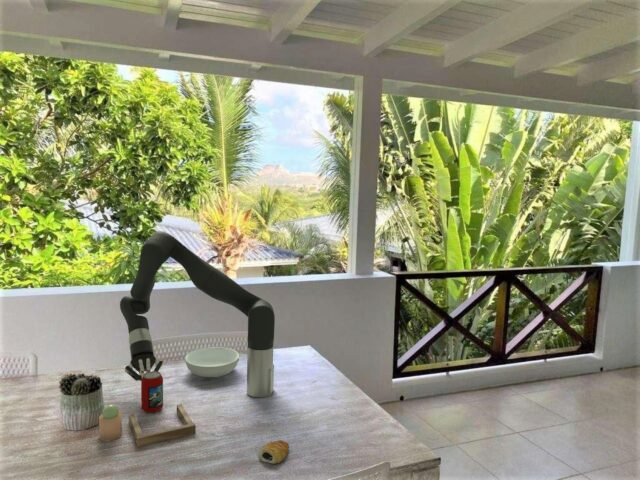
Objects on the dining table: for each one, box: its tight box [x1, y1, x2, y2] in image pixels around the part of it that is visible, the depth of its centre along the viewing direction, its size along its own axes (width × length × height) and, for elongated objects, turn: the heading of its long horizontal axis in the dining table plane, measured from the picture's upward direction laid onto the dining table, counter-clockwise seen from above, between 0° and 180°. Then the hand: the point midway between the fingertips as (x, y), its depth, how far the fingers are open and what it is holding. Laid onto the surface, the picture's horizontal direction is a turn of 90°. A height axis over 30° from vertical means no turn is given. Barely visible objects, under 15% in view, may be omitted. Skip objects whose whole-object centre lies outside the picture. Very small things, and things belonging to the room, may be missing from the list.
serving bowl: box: [184, 346, 240, 378], centre depth 185 cm, size 21×21×7 cm
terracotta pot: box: [98, 404, 123, 442], centre depth 136 cm, size 6×6×9 cm
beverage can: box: [140, 370, 164, 414], centre depth 153 cm, size 7×7×12 cm
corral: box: [128, 403, 196, 448], centre depth 142 cm, size 16×16×2 cm
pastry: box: [257, 439, 290, 465], centre depth 130 cm, size 9×7×4 cm
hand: (147, 390), depth 158 cm, fingers closed
